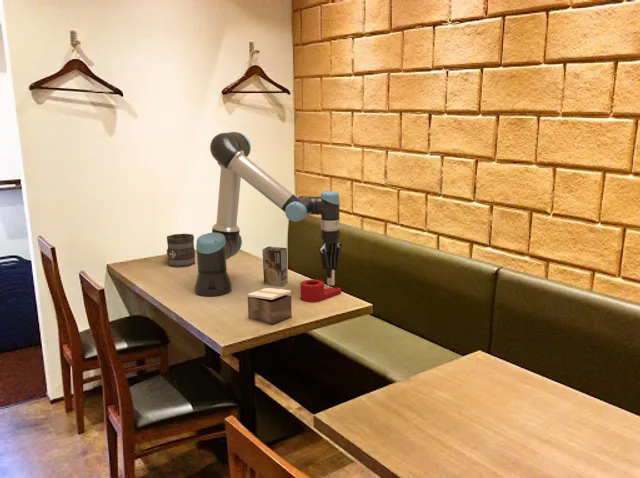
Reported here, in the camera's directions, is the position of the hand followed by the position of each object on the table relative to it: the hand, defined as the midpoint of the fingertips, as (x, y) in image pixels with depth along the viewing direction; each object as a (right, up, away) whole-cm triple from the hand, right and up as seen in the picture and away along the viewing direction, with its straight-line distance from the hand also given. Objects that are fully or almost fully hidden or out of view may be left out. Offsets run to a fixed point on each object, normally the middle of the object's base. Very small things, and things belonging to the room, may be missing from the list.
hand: (330, 284), depth 237 cm
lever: (-4, -5, -9) cm, 11 cm away
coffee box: (-24, -1, +8) cm, 25 cm away
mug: (-74, +6, +41) cm, 84 cm away
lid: (-23, -1, -34) cm, 41 cm away
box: (-23, -9, -32) cm, 40 cm away
